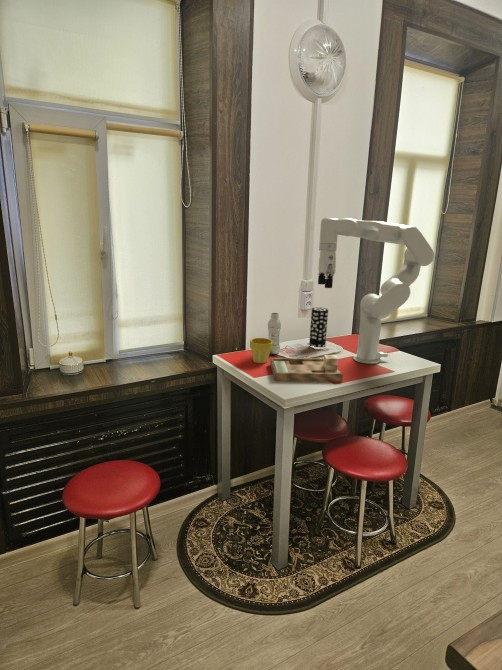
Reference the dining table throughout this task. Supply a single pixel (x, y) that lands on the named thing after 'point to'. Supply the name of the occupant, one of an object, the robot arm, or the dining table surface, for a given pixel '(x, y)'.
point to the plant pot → (260, 349)
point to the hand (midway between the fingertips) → (324, 286)
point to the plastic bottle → (274, 332)
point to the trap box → (302, 370)
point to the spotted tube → (318, 327)
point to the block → (330, 362)
